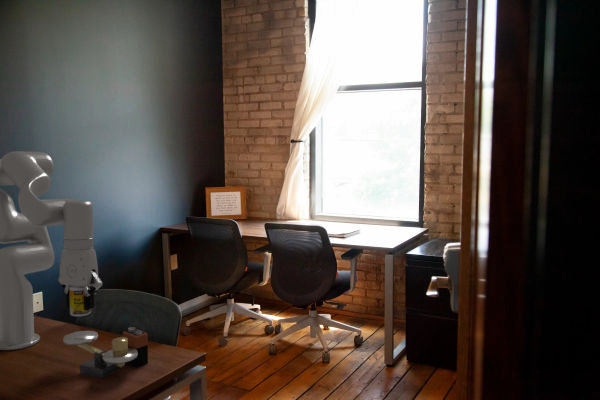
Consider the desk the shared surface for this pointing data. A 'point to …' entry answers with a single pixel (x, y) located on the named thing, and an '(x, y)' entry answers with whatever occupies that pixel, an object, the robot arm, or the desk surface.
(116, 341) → the brass weight
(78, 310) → the supplement bottle
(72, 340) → the balance
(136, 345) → the battery
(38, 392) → the desk surface
